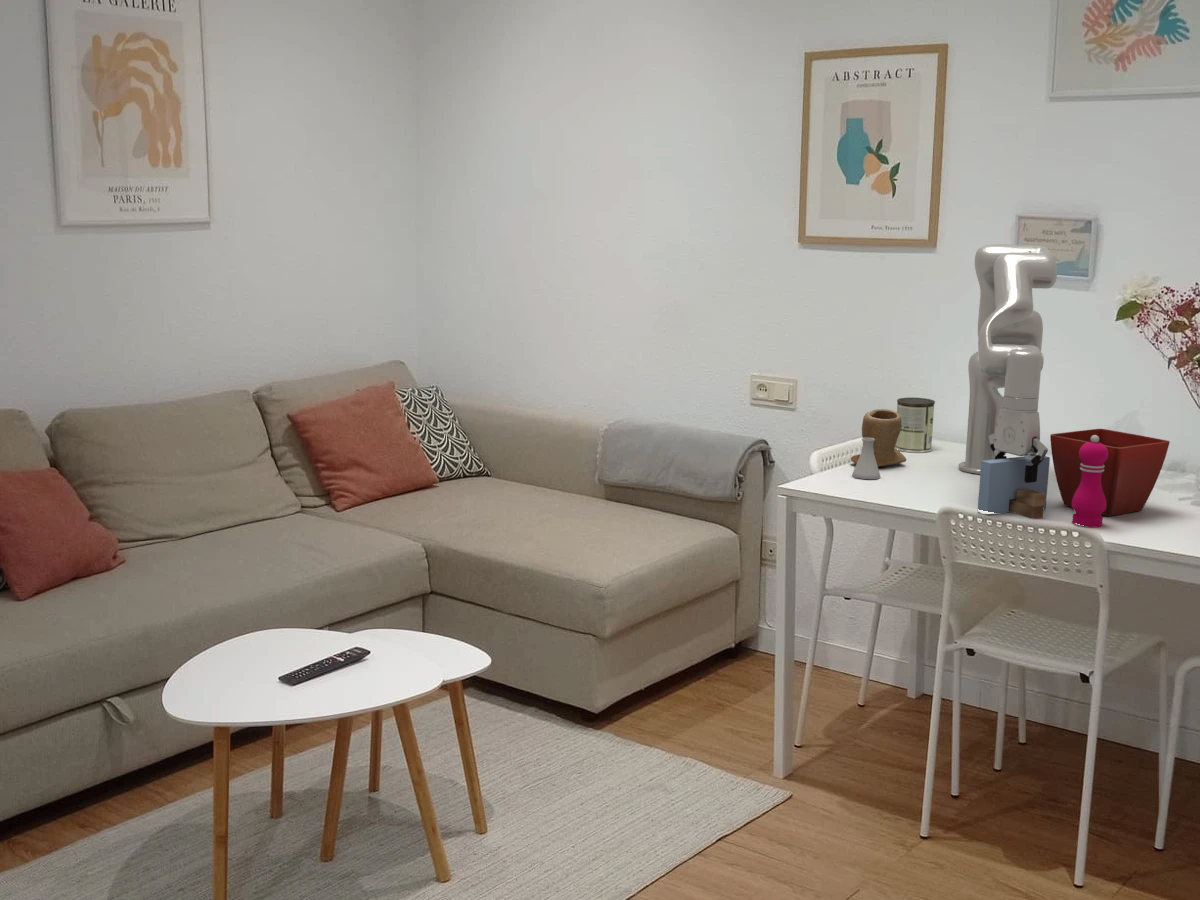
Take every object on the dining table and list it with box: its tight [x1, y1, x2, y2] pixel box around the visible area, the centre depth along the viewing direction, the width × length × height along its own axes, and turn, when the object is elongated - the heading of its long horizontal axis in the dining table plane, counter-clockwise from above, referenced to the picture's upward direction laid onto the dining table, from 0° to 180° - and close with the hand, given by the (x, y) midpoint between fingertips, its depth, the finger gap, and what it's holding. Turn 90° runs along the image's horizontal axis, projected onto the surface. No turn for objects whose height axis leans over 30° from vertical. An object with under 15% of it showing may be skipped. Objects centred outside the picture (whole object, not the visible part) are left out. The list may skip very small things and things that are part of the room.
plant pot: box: [1049, 428, 1170, 517], centre depth 303 cm, size 19×19×17 cm
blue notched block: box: [977, 455, 1051, 514], centre depth 301 cm, size 18×3×12 cm, turn 117°
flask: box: [851, 437, 882, 480], centre depth 333 cm, size 7×7×10 cm
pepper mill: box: [1071, 435, 1108, 528], centre depth 288 cm, size 7×7×20 cm
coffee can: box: [895, 397, 936, 454], centre depth 369 cm, size 10×10×14 cm
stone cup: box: [850, 408, 907, 468], centre depth 347 cm, size 15×12×15 cm
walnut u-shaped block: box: [1008, 489, 1045, 519], centre depth 301 cm, size 16×3×6 cm, turn 27°
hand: (1014, 477), depth 300 cm, fingers open, 9 cm apart
